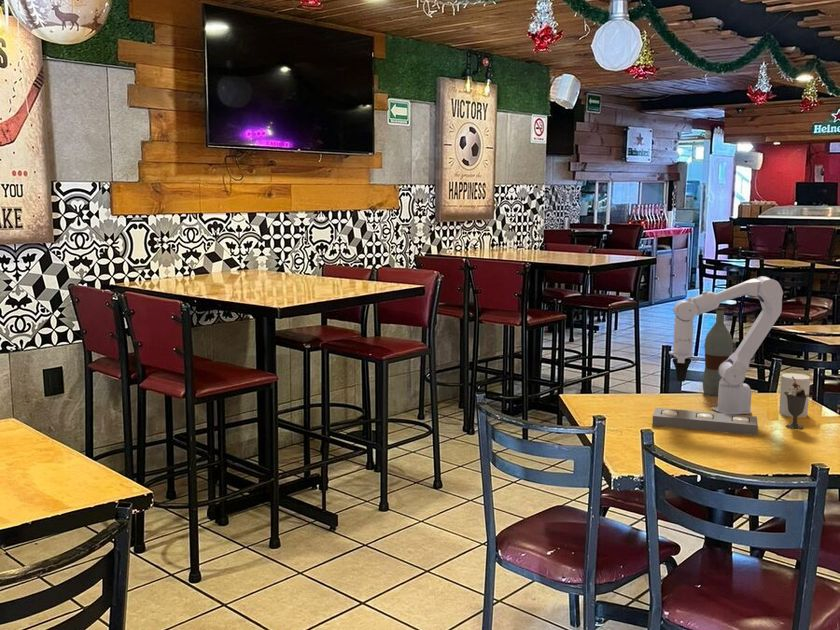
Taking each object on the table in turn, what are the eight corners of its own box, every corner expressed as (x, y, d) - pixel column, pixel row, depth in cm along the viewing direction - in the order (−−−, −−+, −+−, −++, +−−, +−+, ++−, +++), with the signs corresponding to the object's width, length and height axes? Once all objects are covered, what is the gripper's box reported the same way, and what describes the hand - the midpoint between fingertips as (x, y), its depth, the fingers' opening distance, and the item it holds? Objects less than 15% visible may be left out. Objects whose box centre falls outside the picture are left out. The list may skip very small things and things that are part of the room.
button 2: (732, 425, 247) (732, 416, 246) (748, 427, 245) (748, 417, 245) (732, 429, 243) (732, 419, 242) (748, 431, 241) (748, 421, 241)
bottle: (735, 396, 283) (740, 308, 278) (710, 397, 281) (715, 309, 277) (721, 389, 292) (725, 305, 287) (696, 390, 291) (701, 305, 286)
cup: (794, 409, 266) (796, 372, 264) (813, 415, 258) (816, 378, 257) (773, 411, 264) (775, 374, 262) (792, 418, 256) (794, 380, 254)
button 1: (662, 419, 254) (662, 409, 253) (677, 420, 252) (677, 411, 252) (661, 423, 250) (661, 413, 249) (676, 424, 248) (676, 414, 248)
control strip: (655, 417, 257) (655, 407, 257) (756, 426, 247) (756, 416, 247) (652, 425, 248) (652, 415, 247) (757, 435, 238) (757, 425, 237)
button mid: (696, 422, 250) (697, 413, 250) (712, 424, 249) (712, 414, 248) (696, 426, 246) (696, 416, 246) (711, 428, 245) (712, 418, 244)
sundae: (784, 422, 251) (788, 374, 248) (808, 426, 247) (812, 377, 245) (779, 428, 245) (783, 378, 243) (804, 431, 241) (807, 381, 239)
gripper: (671, 334, 270) (669, 375, 272) (668, 342, 257) (666, 385, 259) (694, 335, 268) (692, 376, 270) (692, 343, 254) (690, 386, 256)
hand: (681, 381), depth 264 cm, fingers closed
